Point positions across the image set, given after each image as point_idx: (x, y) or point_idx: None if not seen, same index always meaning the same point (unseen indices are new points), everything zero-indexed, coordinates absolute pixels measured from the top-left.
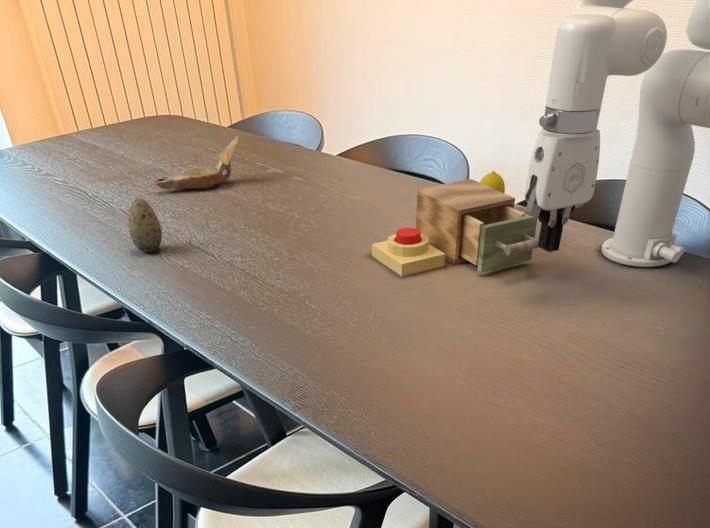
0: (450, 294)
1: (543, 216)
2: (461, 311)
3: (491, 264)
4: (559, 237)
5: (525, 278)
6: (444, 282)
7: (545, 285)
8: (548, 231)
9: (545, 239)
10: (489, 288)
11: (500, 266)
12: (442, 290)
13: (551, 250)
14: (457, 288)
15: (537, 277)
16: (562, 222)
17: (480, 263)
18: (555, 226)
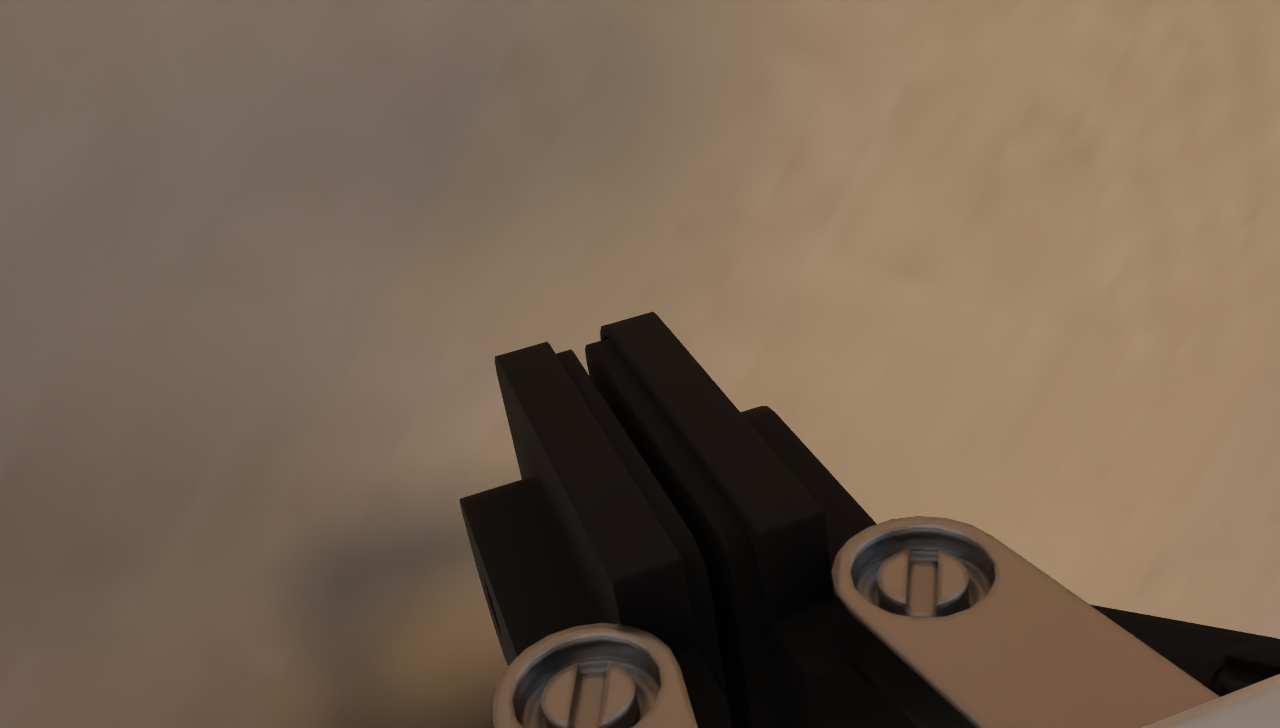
0: (1144, 383)
1: (1262, 647)
2: (1249, 72)
3: None
4: (589, 438)
5: (446, 557)
6: (1066, 579)
7: (324, 380)
8: (842, 525)
9: (802, 454)
10: (839, 423)
11: None
12: (1150, 458)
13: (652, 314)
14: (1047, 470)
15: (321, 561)
16: (643, 645)
17: None
18: (789, 558)
